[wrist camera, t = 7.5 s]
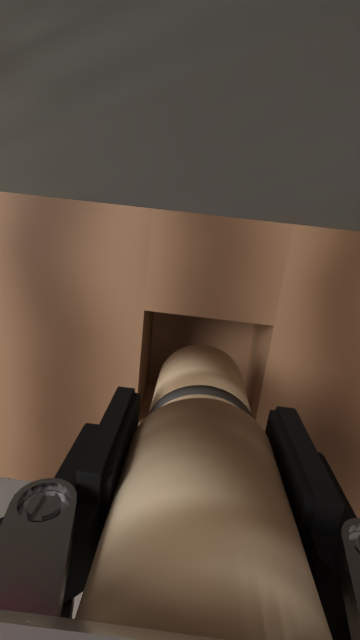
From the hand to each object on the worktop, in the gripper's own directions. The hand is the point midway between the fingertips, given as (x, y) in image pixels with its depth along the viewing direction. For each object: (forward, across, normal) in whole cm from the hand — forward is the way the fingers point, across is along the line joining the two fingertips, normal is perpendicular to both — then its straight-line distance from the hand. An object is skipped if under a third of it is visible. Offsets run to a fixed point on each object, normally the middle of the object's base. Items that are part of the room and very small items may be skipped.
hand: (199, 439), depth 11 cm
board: (+10, 0, 0) cm, 10 cm away
